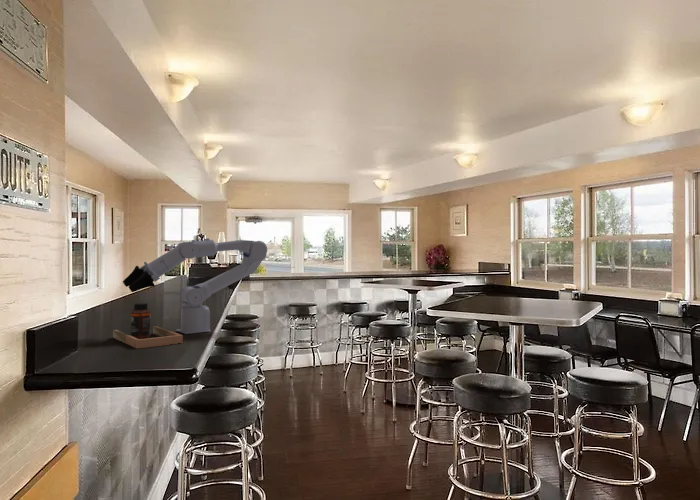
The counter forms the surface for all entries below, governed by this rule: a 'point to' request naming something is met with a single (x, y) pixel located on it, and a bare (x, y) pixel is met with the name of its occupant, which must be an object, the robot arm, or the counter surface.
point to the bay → (165, 338)
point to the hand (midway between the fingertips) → (127, 286)
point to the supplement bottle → (140, 321)
